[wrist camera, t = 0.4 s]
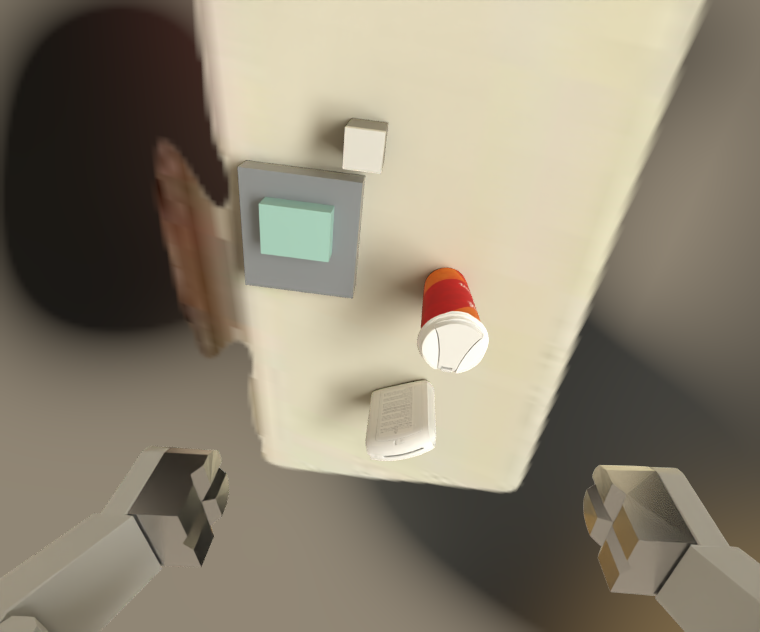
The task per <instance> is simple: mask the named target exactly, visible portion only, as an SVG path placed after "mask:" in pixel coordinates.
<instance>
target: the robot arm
mask: <svg viewBox="0 0 760 632" xmlns="http://www.w3.org/2000/svg"><path fill="white" fill-rule="evenodd" d="M221 462H222V459H221V456H220V453H219V451H218V450H205V449H192V448H191V449H190V448H177V447H158V446H149V447H147V448H146V449H145V450H143V452H141V454H140V455H139V457H138V458H137V460H136V461H135V463H134V464H133V466H132V467H131V469H130V470H129V472H128V473H127V475H126V476H125V478H124V479H123V481H122V482H121V484H120V485H119V487H118V488H117V490H116V491H115V493H114V494H113V496H112V497H111V498H110V500H109V502H108V503H107V505H106V506H105V507H104V509H103V511H102V512H101V513H100V514H92V515H91V516H89V517H88V518H86V519H85V520H84V521H82V522H81V523H79V524H78V525H76V526H75V527H74V528H72V529H71V530H69V531H68V532H66V533H65V534H63V535H62V536H61V537H59V538H58V539H56V540H55V541H53V542H52V543H50V544H49V545H48V546H46V547H45V548H43V549H42V550H40V551H39V552H38V553H36V554H35V555H33V556H32V557H30V558H29V559H27V560H26V561H25V562H23V563H22V564H20V565H19V566H17V567H16V568H15V569H13V570H12V571H10V572H9V573H7V574H6V575H5V576H3V577H2V578H0V632H100V631H101V630H102V629H103V628H104V627H105V626H106V625H107V624H108V623H109V622H110V621H111V620H112V619H113V618H114V617H115V616H116V615H117V614H118V613H119V612H120V611H121V610H122V609H123V608H124V607H125V606H126V605H127V604H128V603H129V602H130V601H131V600H132V599H133V598H134V597H135V595H137V594H138V592H140V591H141V590H142V589H143V588H144V587H145V586H146V585H147V583H149V581H150V580H152V579H153V577H154V576H155V575H156V574H157V573H158V572H159V571H160V570H161V569H162V567H161V566H172V567H202V565H203V562H204V560H205V557H206V555H207V552H208V550H209V547H210V545H211V543H212V540H213V538H214V534H213V531H212V527H211V526H212V525H213V524H214V523H215V522H216V521H217V520H219V518H221V517H222V515H223V512H224V510H225V507H226V505H227V500H228V495H229V480H228V477H227V474H226V473H225V472H224V471H223V470H221V469H220V468H219V466H220V464H221ZM592 477H593V479H594V482H595V485H593V486H592V487H590V488H588V489H587V491H586V494H585V497H584V501H583V505H584V506H583V507H584V508H583V509H584V510H583V511H584V512H583V513H584V517H585V522H586V526H587V529H588V532H589V534H590V536H591V537H592V538H593V539H594V540H595V541H596V542H597V543H598V544H599V545H600V546H601V549H600V552H599V555H598V560H599V562H600V565H601V568H602V571H603V573H604V576H605V579H606V582H607V584H608V587H609V590H610V592H619V593H630V594H641V595H653V596H656V597H655V598H656V600H657V601H658V602H659V603H660V604H661V605H662V607H663V608H664V609H665V610H666V611H667V612H668V613H669V614H670V615H671V616H672V618H673V619H674V620H675V621H676V622H677V623H678V624H679V626H681V628H682V629H683V630H684V631H685V632H760V564H759V563H758V562H757V561H755V560H754V559H753V558H751V557H750V556H749V555H747V554H746V553H745V552H744V551H742V550H741V549H740V548H738V547H730V546H729V545H728V543H727V542H726V540H725V538H724V537H723V535H722V534H721V532H720V531H719V529H718V528H717V526H716V524H715V523H714V521H713V520H712V518H711V517H710V515H709V513H708V512H707V510H706V509H705V507H704V505H703V504H702V502H701V501H700V499H699V498H698V496H697V495H696V493H695V491H694V490H693V488H692V487H691V485H690V484H689V482H688V480H687V479H686V477H685V476H684V474H683V473H682V472H681V471H679V470H678V469H677V468H660V467H647V466H616V465H612V466H611V465H599V466H598V467H597V468H595V470H594V473H593V475H592Z"/></svg>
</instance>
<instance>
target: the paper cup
mask: <svg viewBox="0 0 760 632" xmlns="http://www.w3.org/2000/svg"><path fill="white" fill-rule="evenodd" d="M488 341H489V339H488V333H487V330H486V328H485V327H484V325H483V324H482V323H481V322H480V319H479V316H478V313H477V310H476V307H475V304H474V302H473V299H472V296H471V293H470V290H469V288H468V285H467V282H466V280H465V278H464V277H463V275H462V274H461V273H460V272H459V271H457V270H455V269H452V268H440V269H437V270H435V271H434V272H432V273H431V274H430V275H429V276H428V277H427V279H426V281H425V285H424V293H423V306H422V320H421V330H420V332H419V334H418V339H417V346H418V350H419V352H420V354H421V356H422V357H423V358H424V359H425V361H426V362H427V363H428V364H429V365H430V366H431V367H432V368H434V369H440V370H441V371H445V372H455V373H461V372H465V371H467V370H470V369H471V368H473V367H474V366H476V365H477V364H478V363H479V362H480V361H481V359H482V358H483V356H484V354H485V352H486V350H487V347H488Z"/></svg>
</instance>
